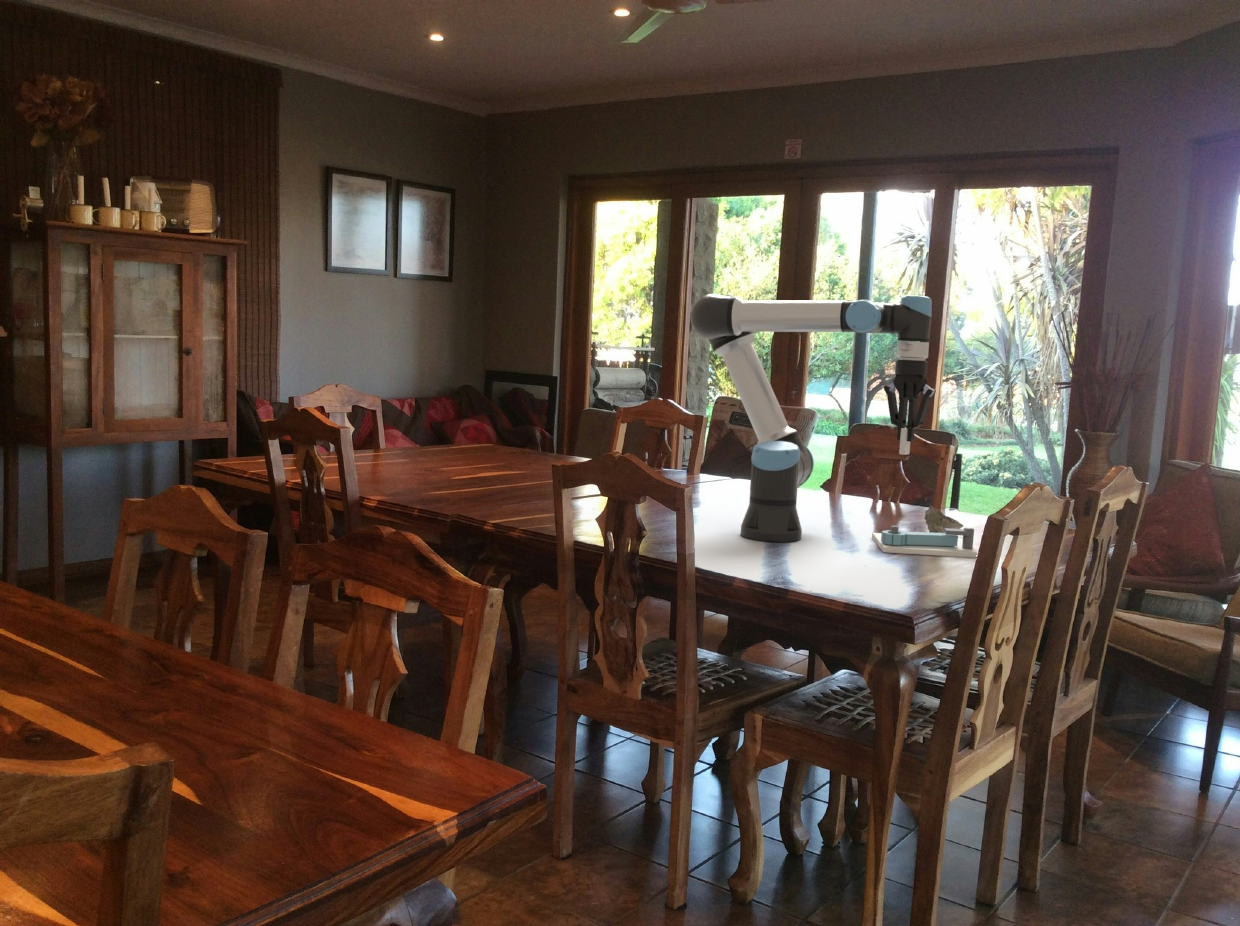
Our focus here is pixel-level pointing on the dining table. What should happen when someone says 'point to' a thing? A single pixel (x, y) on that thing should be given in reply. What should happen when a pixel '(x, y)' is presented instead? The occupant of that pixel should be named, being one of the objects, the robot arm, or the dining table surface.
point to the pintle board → (961, 550)
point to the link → (918, 538)
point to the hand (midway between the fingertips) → (904, 454)
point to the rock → (939, 521)
